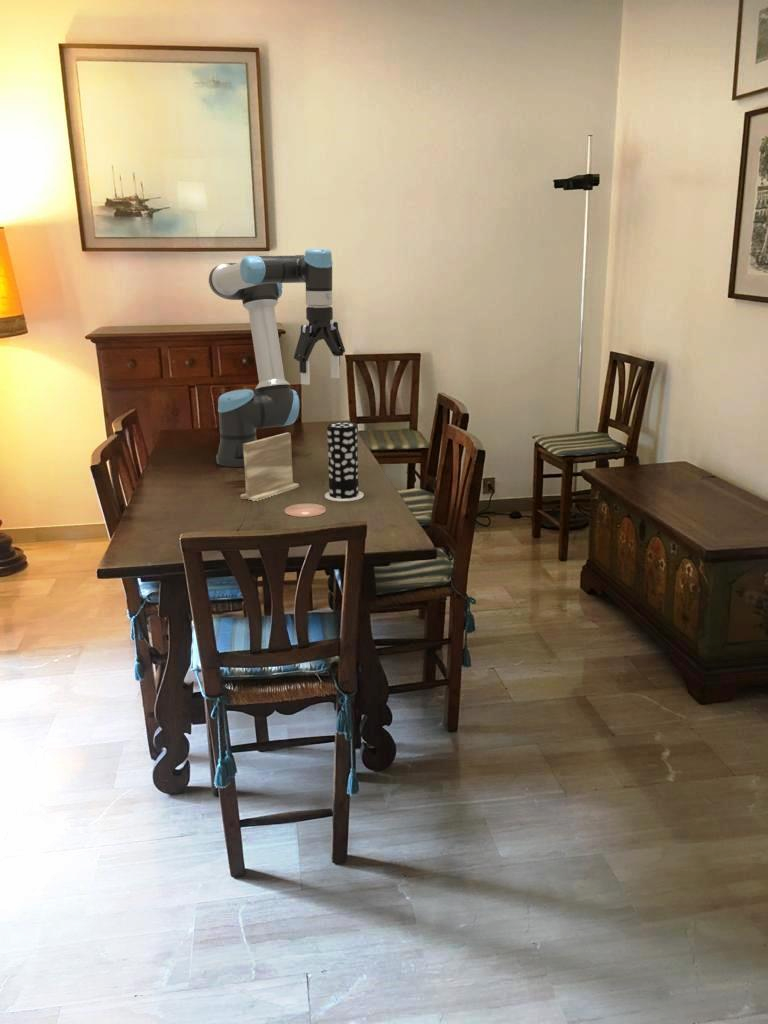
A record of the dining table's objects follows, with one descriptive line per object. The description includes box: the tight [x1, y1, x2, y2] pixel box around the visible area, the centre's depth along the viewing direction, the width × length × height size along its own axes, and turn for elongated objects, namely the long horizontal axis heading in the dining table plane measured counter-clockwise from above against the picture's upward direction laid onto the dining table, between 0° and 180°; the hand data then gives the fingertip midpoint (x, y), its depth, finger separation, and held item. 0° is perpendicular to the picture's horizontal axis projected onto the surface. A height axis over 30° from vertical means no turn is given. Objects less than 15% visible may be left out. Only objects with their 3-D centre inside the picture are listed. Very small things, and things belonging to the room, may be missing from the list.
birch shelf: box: [240, 432, 300, 502], centre depth 232 cm, size 6×18×16 cm, turn 145°
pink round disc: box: [284, 503, 327, 518], centre depth 218 cm, size 11×11×1 cm
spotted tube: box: [326, 421, 360, 499], centre depth 228 cm, size 8×8×20 cm
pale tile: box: [324, 490, 365, 503], centre depth 231 cm, size 11×11×1 cm
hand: (320, 381), depth 237 cm, fingers open, 13 cm apart
